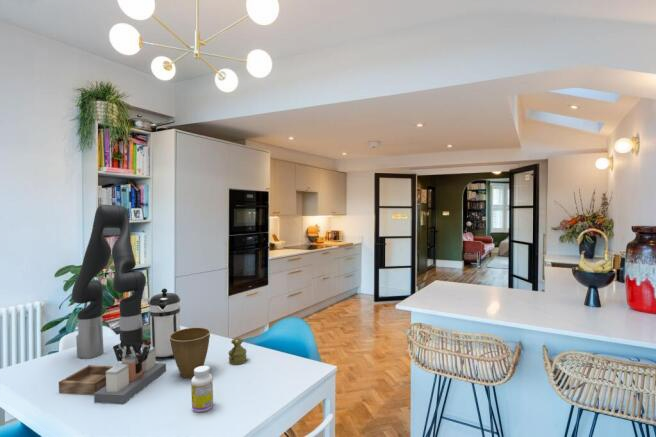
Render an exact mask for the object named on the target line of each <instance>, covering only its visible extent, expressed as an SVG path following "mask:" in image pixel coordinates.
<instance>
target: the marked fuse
mask: <svg viewBox="0 0 656 437" xmlns="http://www.w3.org/2000/svg"><path fill="white" fill-rule="evenodd" d="M138 359H139V356H138ZM121 364H127V365H128V368H129V382H133V381H135V380H136V379H138V378H139V377H140V376H142V375H143V362H142V370H141V372H140V373H138V374H136V366H135V364H136V362H135V359H134V358H133V355H132V354H131V355H130V356H128V357H126V358H124V359H123V360H122V362H121Z"/></svg>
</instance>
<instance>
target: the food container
mask: <svg viewBox="0 0 656 437" xmlns="http://www.w3.org/2000/svg"><path fill="white" fill-rule="evenodd" d="M142 341H143V344H145V345H150V344H151V330H150V321H148V322H145V323H143V338H142ZM150 346H151V345H150Z"/></svg>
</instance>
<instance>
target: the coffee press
mask: <svg viewBox="0 0 656 437" xmlns="http://www.w3.org/2000/svg"><path fill="white" fill-rule="evenodd" d="M180 302H181V298H180V296H179V295H178V294H176V293H175V292H168V290H167V288H162V289H161V293H157V294H155V295H153V296H152V297H150V299H149V301H148V305H149V309H148V310H149V313H148V314H149V322H150V330H151V345H150V346H151V347H155V360H157V359H158V358H166V357H171V356H172V357H173V358H174V355H173V351H172V347H171V342H170V335H171V334H172V333H174V332H176V331H179V330H181V306H180Z"/></svg>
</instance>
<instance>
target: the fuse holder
mask: <svg viewBox="0 0 656 437" xmlns="http://www.w3.org/2000/svg"><path fill="white" fill-rule="evenodd" d="M165 372H167V363H164V362H156V366H154V367H153V368H151V369H150V370H149V371H147V372H143V375H142V376H140V377H139V378H138V379H136V380H135V381H133V382H129V385H128V386H126V387H125V388H124V389H122V390H121V391H120V392H118V393H110V392H107V390H106V386H105V387H103V388H102V389H100V390H99V391H97V392H96V393H94V395H93V401H94V403H96V404H97V403H99V404H119V405H125V403H127V402H128V401H129V400H130V398H131V399H132V398H133V397H135V396H136V395H137V394H138V393H139V391H140V390H141V391H142V390H143V389H144V387H145V388H146V387H147V386H149V385H150V384H151V383H153V382H154V381H155V380H156V379H157V378H159V377H160V376H161V375H162V374H164V373H165ZM148 384H149V385H148ZM141 391H140V392H141ZM135 394H136V395H135ZM134 395H135V396H134Z"/></svg>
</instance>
